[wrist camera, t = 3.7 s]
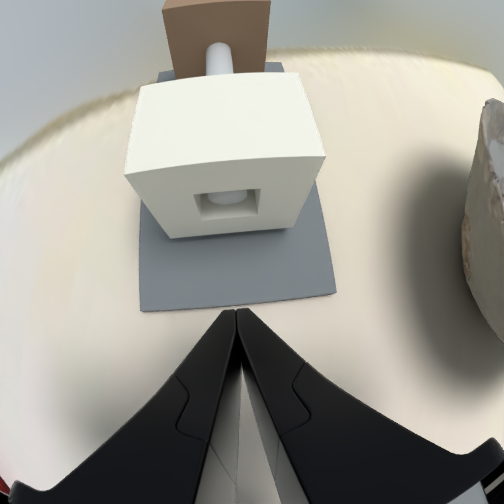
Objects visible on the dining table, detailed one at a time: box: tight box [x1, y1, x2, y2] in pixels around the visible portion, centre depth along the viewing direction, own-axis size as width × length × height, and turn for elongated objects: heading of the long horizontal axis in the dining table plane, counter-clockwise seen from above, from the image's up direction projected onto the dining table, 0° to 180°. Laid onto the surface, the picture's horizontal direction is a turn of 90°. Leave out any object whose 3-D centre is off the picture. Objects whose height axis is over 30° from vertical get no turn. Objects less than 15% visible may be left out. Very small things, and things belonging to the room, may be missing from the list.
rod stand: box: [139, 0, 337, 312], centre depth 15 cm, size 22×12×10 cm, turn 6°
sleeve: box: [124, 72, 326, 239], centre depth 13 cm, size 5×7×7 cm
